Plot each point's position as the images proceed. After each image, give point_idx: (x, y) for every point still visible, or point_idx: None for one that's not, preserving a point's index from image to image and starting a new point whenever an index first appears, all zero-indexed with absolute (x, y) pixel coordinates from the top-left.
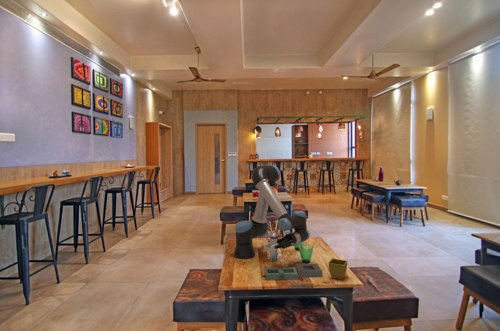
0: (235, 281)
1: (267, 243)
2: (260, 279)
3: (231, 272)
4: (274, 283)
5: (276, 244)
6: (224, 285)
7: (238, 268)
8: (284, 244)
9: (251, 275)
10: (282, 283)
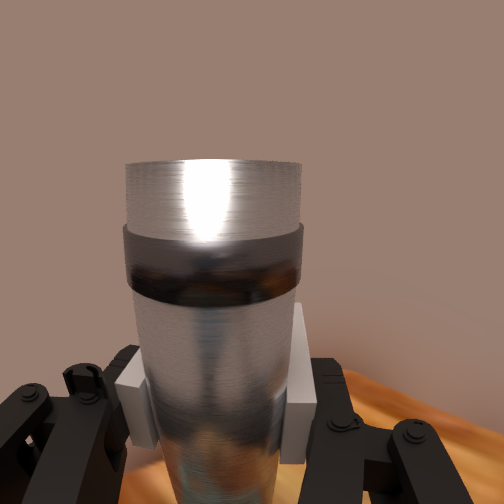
0: (353, 408)
1: (294, 334)
2: (275, 488)
3: (460, 439)
4: (165, 485)
5: (135, 354)
6: (347, 371)
7: (495, 481)
8: (6, 404)
9: (364, 492)
10: (121, 499)
